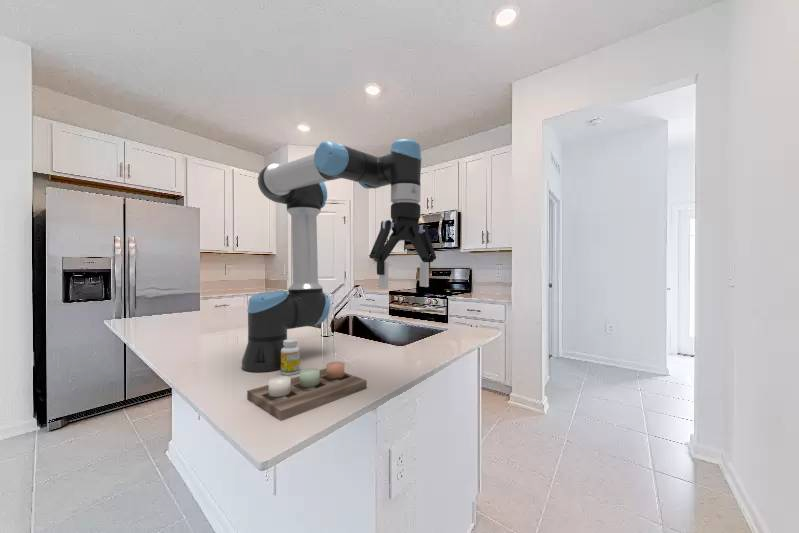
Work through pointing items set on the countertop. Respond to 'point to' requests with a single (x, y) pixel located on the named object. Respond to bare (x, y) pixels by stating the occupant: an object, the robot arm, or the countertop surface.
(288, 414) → the wooden tray
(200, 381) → the countertop surface
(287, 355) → the supplement bottle
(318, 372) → the sage button
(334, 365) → the terracotta button
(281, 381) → the cream button
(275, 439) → the countertop surface
